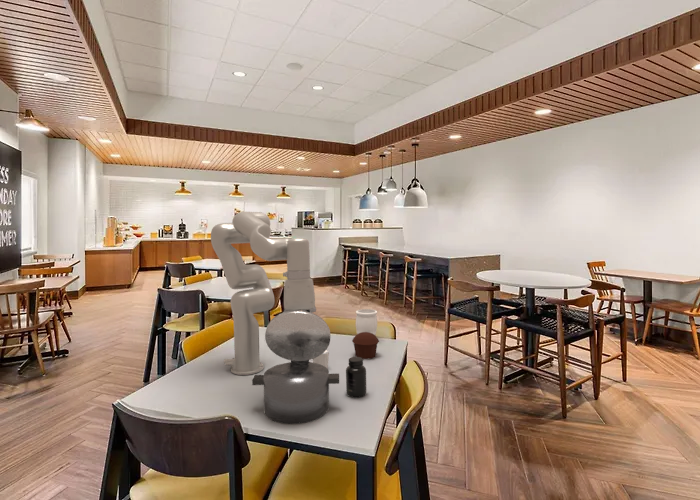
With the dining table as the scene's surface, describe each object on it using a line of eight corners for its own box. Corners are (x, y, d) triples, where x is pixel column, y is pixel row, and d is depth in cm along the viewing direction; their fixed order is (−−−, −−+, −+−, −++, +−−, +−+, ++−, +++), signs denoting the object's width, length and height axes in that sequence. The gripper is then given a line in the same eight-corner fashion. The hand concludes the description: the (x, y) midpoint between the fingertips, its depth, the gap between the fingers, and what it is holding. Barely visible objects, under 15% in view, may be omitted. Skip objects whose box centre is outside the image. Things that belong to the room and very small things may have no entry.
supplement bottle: (354, 387, 134) (354, 354, 133) (370, 393, 129) (370, 358, 129) (341, 394, 128) (341, 359, 128) (357, 400, 124) (357, 364, 123)
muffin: (379, 351, 172) (379, 330, 171) (378, 360, 161) (378, 337, 160) (353, 351, 173) (353, 329, 172) (350, 359, 162) (350, 336, 161)
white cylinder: (326, 372, 148) (326, 354, 148) (309, 370, 150) (309, 353, 149) (331, 365, 155) (331, 348, 155) (314, 364, 156) (314, 347, 156)
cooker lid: (261, 314, 118) (263, 306, 121) (268, 363, 129) (270, 355, 132) (329, 313, 118) (329, 305, 122) (330, 362, 130) (331, 354, 133)
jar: (376, 338, 193) (376, 308, 192) (378, 344, 183) (378, 313, 182) (355, 338, 193) (355, 309, 192) (356, 344, 183) (356, 313, 182)
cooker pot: (246, 424, 109) (245, 387, 108) (260, 394, 129) (260, 362, 128) (339, 422, 110) (339, 385, 109) (339, 392, 130) (338, 360, 129)
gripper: (274, 277, 123) (276, 333, 124) (320, 275, 124) (322, 331, 125) (277, 275, 131) (279, 328, 132) (321, 273, 132) (323, 326, 132)
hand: (300, 329), depth 128 cm, fingers closed
